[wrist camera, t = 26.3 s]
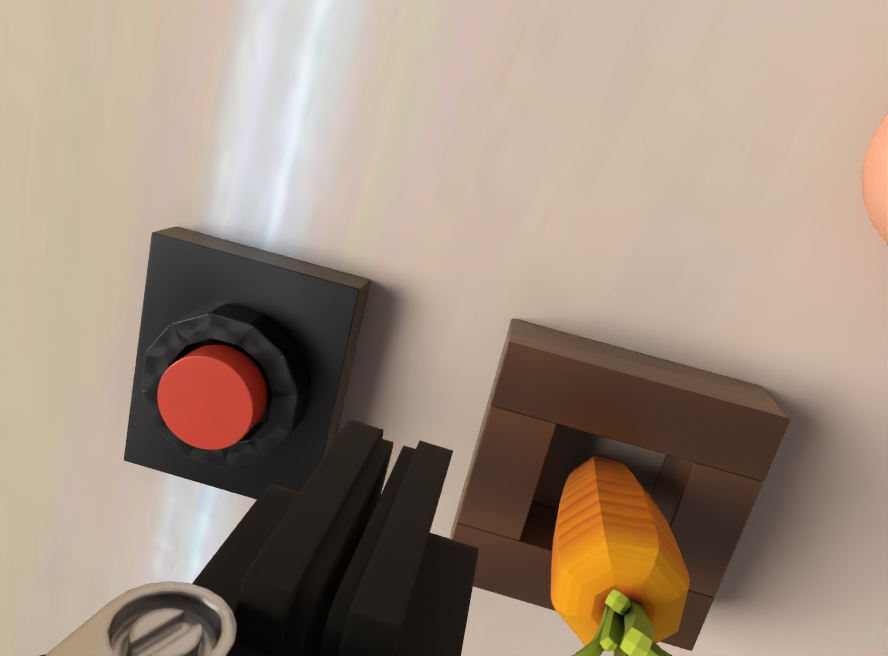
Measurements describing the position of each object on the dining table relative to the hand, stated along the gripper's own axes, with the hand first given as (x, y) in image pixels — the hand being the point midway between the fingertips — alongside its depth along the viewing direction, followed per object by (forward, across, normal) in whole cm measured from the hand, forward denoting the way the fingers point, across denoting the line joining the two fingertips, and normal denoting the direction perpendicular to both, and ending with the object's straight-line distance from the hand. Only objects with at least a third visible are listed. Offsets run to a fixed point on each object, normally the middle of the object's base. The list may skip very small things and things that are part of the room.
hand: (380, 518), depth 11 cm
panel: (+23, +10, +9) cm, 27 cm away
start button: (+19, +10, +9) cm, 24 cm away
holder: (+23, -8, +9) cm, 26 cm away
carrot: (+23, -8, +9) cm, 26 cm away
